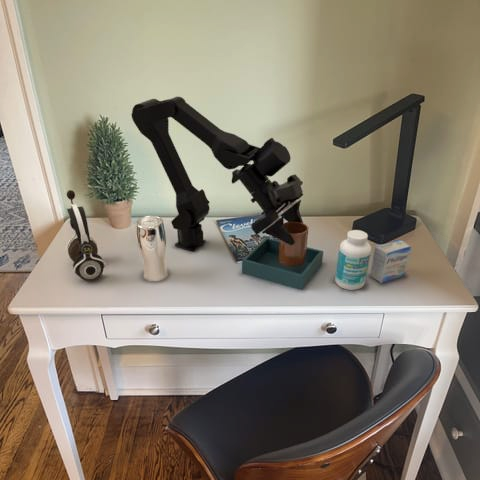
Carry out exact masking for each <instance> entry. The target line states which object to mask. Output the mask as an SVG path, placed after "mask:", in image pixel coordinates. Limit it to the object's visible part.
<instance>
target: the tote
mask: <svg viewBox="0 0 480 480" xmlns="http://www.w3.org/2000/svg"><path fill="white" fill-rule="evenodd" d="M279 243H280V239H277V238H272V237H265V238H264V239H262V240H261V241H260V242H259V243H258V244H257V245H256V246H255V247H254V248H253V249H252V250H251V251H250V252H249V253H248V254H246V256H244V257H243V258H242V260H241V274H243V275H246V276H249V277H254V278H257V279H261V280H264V281H267V282H270V283H275V284H278V285H281V286H286V287H289V288H293V289H296V290H300V291H303V289H304V288H305V287H306V285H307V284H308V283H309V282H310V280H311V279H312V278H313V276H314V275H315V274H316V273H317V271H318V270H319V269H320V268H321V266H322V265H323V260H324V250H320V249H316V248H313V247H308V246H307V249H306V259H305V263H304V264H302V265H300V266H294V267H292V266H286V265H283V264H282V263H280V261H279Z"/></svg>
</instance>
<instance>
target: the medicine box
mask: <svg viewBox="0 0 480 480" xmlns="http://www.w3.org/2000/svg"><path fill="white" fill-rule="evenodd" d="M373 250H374V251H373V257H372V263H371V268H370V273H369V274H370V275H369V276H370V277H371V278H372V279H374V280H376V281H377V282H379V284H384V283H388V282H390V281H393V280H396V279H399V278H402V277H405V275H406V272H407V268H408V262H409V258H410V254H411V250H412V246H411V245H409V244H408V243H407V242H405V241H403V240H401V239H398V240H395V241H394V240H393V241H390V242H387V243H384V244H379V245H375V246H374V249H373Z"/></svg>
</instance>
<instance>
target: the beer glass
mask: <svg viewBox="0 0 480 480" xmlns="http://www.w3.org/2000/svg"><path fill="white" fill-rule="evenodd" d="M134 223H135V237H136V242H137V247H138V250H139V253H140V256H141V260H142V262H143V278H144V279H145V280H146V281H149V282H160V281H163V280H164V279H166V278H167V277H168V274H169V273H168V269H167V266H166V262H165V261H166V247H167V238H166V237H167V236H166V230H165V229H166V228H165V225H164V224H165V223H164V220H163V218H162V217H160V216H157V215H145V216H141V217H139V218H138V219H136V220H135V222H134Z"/></svg>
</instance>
